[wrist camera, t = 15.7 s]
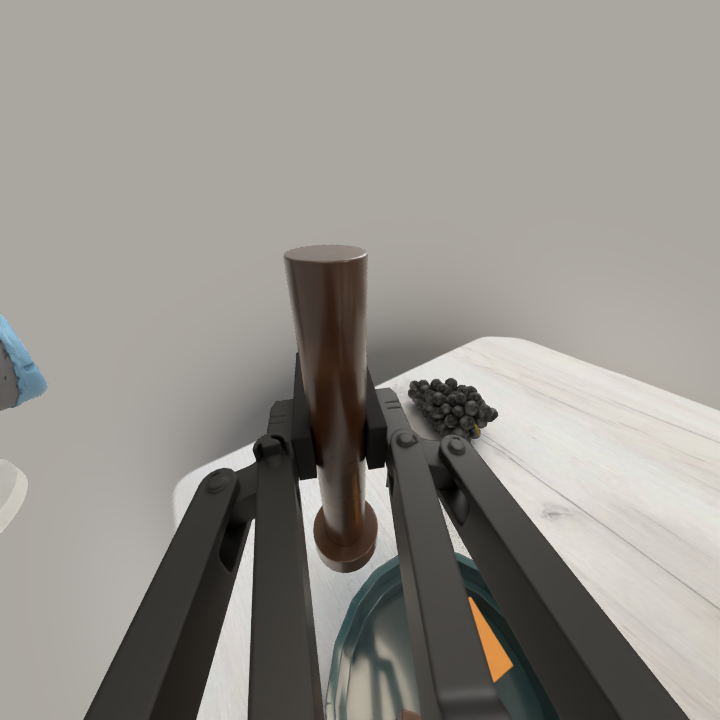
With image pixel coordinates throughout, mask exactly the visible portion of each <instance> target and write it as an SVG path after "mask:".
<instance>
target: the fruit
mask: <svg viewBox="0 0 720 720" xmlns="http://www.w3.org/2000/svg"><path fill="white" fill-rule="evenodd" d="M409 386H410V390H409V391H408V396H409V397H410V398H412V401H413V402H414V403H415V404H417V407H418V408H419V409H420V410H423V416H424V417H425V418H427V419H428V422H429V423H430V424H433V425H432V426H433V429H434V430H435V431H440V435H441V437H442V438H443V437H445V436H447V435H457V436H460V437H462V438H464V439H466V440H467V441H468V442H469V443H470V441H471V438H472V439H478V438H479V437H480V429H479V428H484V427H486V426H487V422H492V421H493V420H495V419H496V418H497V417H498V412H497V411H496V410H495V409H494V408H490V407H489V406H488V405H486V404H485V401H484V400H483V399H482V397H481V396H480V394H478V393H477V390H476V389H475V388H474V387H472V386H469V387H466V386H465V385H459V386H458V387H457V381H456V380H455V379H453V378H449V379H447V380H446V381H445V384H443V383H442V382H441V381H440V380H439V379H434V380H432V382H431V384H430V385H429V383H428V382H427V381H426V380H421V381H419V382H417V381H412V382H411V383H410V385H409ZM452 411H453V412H452Z"/></svg>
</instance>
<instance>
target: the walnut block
mask: <svg viewBox="0 0 720 720" xmlns="http://www.w3.org/2000/svg"><path fill="white" fill-rule="evenodd" d="M397 720H421V714H419V713H416V712H412V711H409V710H405V709H403V710H402V711H401V712H400V713H399V714H398V716H397Z"/></svg>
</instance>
